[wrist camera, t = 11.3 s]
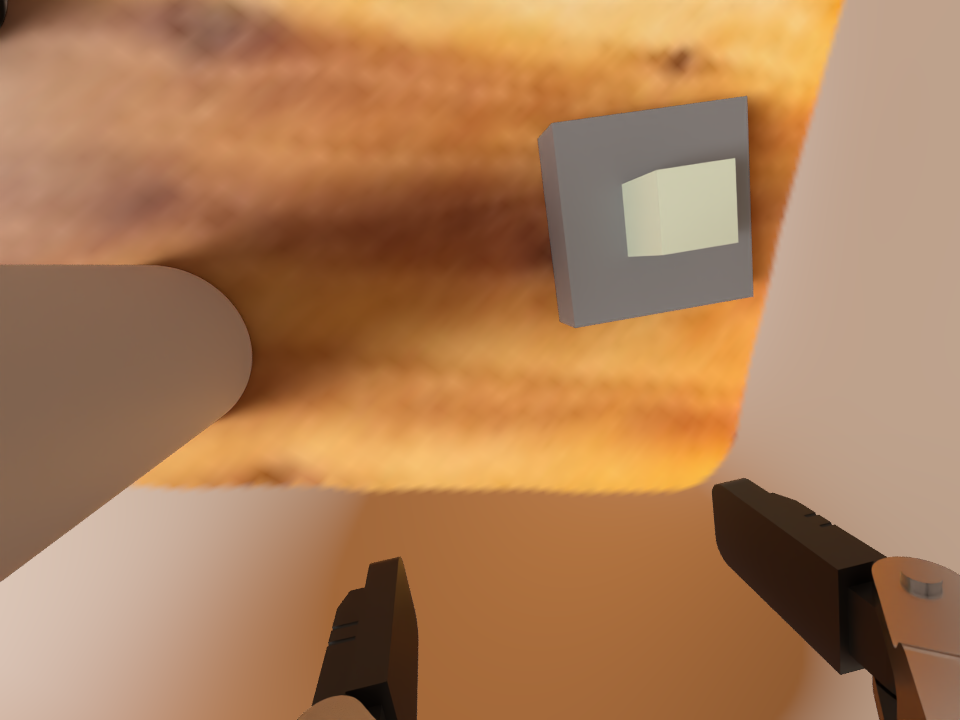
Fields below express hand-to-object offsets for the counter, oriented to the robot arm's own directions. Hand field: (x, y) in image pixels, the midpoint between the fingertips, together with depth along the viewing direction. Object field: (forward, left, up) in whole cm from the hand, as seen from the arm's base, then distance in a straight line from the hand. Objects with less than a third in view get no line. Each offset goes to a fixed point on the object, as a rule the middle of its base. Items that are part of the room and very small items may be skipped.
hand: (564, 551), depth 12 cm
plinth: (-8, +15, -27) cm, 32 cm away
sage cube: (-8, +15, -23) cm, 28 cm away
